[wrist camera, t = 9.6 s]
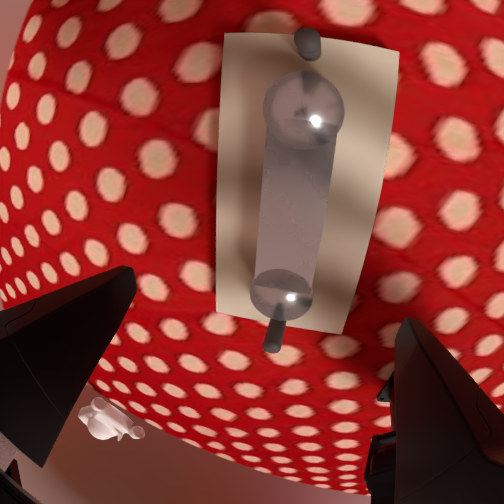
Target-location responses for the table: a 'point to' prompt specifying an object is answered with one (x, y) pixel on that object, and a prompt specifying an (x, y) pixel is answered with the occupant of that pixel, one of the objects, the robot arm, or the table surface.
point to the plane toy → (108, 421)
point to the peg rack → (343, 173)
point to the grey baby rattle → (294, 191)
